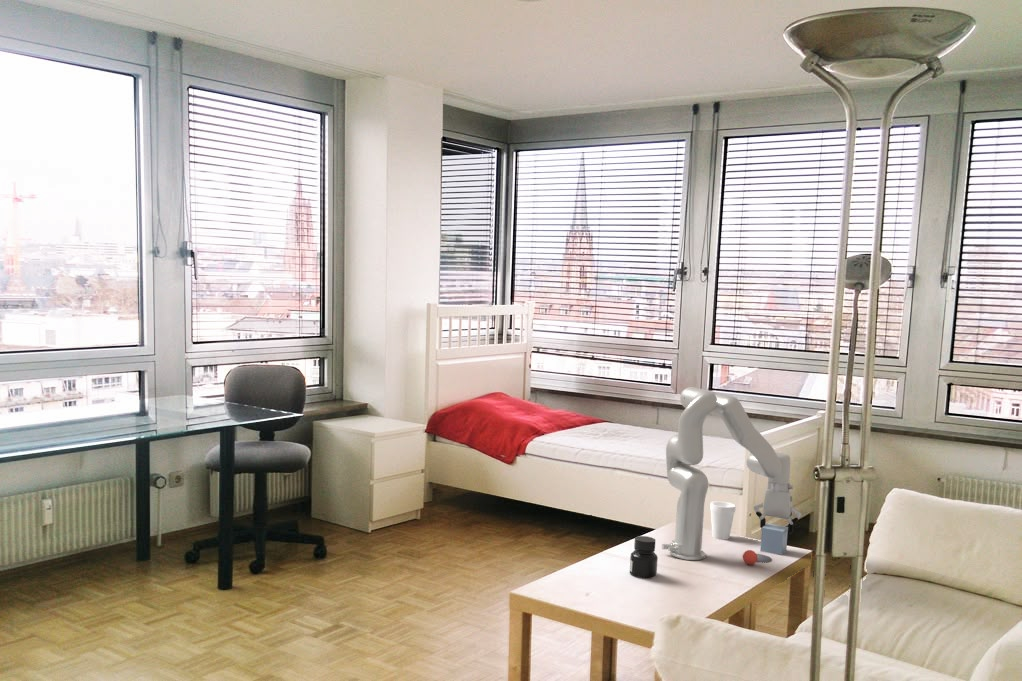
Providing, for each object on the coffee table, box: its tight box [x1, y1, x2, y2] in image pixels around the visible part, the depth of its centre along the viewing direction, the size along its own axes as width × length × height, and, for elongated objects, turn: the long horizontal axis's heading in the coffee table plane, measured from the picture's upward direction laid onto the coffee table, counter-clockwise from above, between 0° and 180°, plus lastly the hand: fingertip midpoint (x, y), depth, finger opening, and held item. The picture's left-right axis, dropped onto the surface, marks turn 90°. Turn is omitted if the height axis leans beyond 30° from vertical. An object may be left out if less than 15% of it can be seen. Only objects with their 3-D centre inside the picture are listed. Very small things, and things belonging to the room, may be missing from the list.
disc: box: [756, 553, 773, 564], centre depth 306 cm, size 10×10×1 cm
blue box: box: [759, 523, 788, 556], centre depth 317 cm, size 8×8×9 cm
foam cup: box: [709, 500, 736, 540], centre depth 331 cm, size 10×9×13 cm
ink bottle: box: [629, 535, 658, 579], centre depth 282 cm, size 10×9×12 cm
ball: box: [742, 549, 758, 566], centre depth 299 cm, size 5×5×5 cm
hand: (776, 531), depth 317 cm, fingers open, 9 cm apart
